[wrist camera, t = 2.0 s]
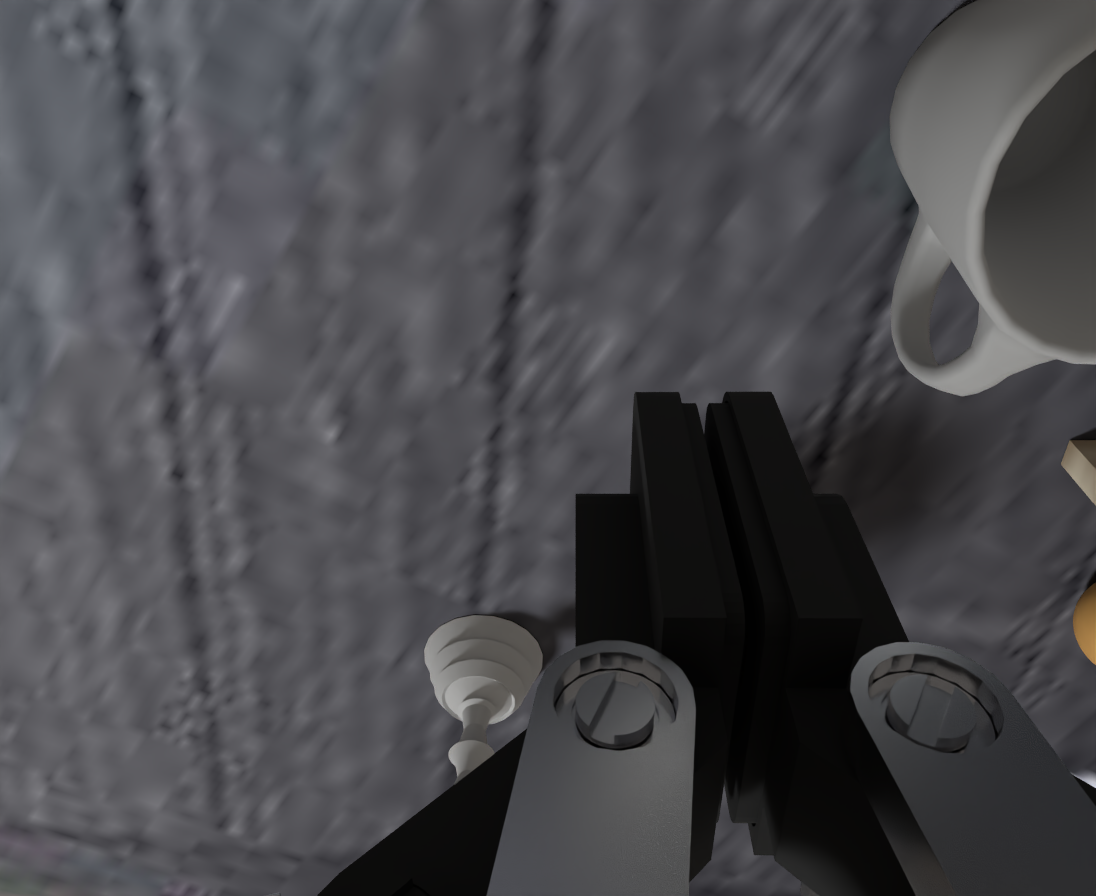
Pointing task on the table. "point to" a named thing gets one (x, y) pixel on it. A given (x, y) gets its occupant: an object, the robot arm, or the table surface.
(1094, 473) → the wooden u-shaped frame
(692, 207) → the table surface
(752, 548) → the robot arm
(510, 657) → the chalice
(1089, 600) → the figurine
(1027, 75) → the cup
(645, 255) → the table surface
